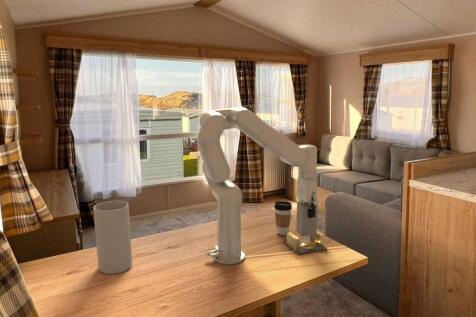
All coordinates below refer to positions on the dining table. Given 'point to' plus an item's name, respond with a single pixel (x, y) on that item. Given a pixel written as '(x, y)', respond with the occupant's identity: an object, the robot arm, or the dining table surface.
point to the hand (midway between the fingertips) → (306, 214)
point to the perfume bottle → (306, 220)
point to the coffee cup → (282, 216)
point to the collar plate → (305, 243)
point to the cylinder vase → (113, 236)
